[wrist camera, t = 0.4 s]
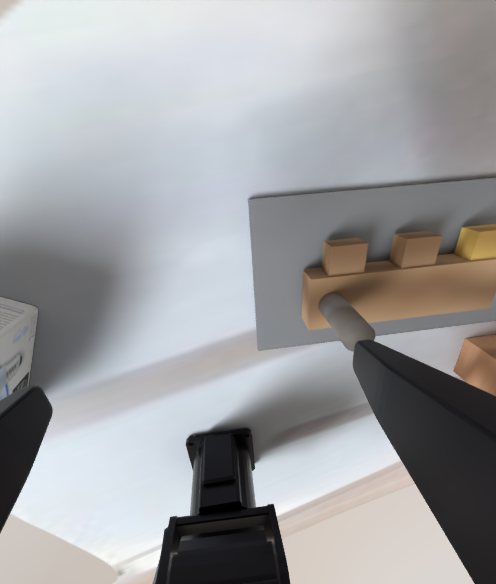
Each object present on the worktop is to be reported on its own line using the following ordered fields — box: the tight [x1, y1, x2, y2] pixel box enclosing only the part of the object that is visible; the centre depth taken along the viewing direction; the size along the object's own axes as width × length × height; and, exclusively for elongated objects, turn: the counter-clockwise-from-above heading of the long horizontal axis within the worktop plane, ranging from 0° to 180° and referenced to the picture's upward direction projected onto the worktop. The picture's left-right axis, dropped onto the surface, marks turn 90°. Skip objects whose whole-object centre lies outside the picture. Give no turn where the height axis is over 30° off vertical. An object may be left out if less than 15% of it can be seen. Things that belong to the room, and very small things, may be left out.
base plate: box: [248, 177, 496, 351], centre depth 20 cm, size 12×25×1 cm, turn 94°
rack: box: [302, 224, 496, 351], centre depth 17 cm, size 6×14×6 cm, turn 94°
